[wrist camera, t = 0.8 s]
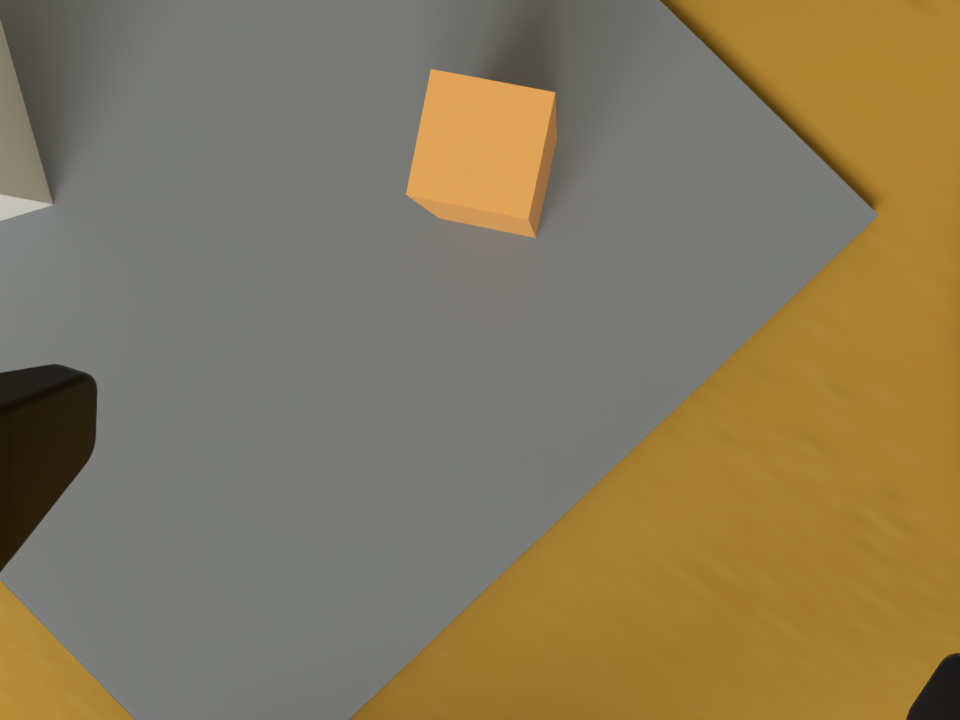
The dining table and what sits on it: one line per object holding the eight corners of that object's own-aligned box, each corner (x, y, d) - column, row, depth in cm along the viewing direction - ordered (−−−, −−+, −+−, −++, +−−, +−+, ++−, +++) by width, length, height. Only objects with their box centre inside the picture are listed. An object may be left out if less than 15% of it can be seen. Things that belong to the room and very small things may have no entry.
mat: (242, 817, 24) (237, 826, 23) (-322, 231, 24) (-337, 230, 24) (872, 217, 21) (878, 215, 20) (216, -429, 22) (209, -443, 21)
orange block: (536, 237, 21) (528, 219, 17) (439, 218, 22) (405, 194, 17) (557, 138, 21) (555, 92, 17) (459, 119, 21) (430, 68, 17)
